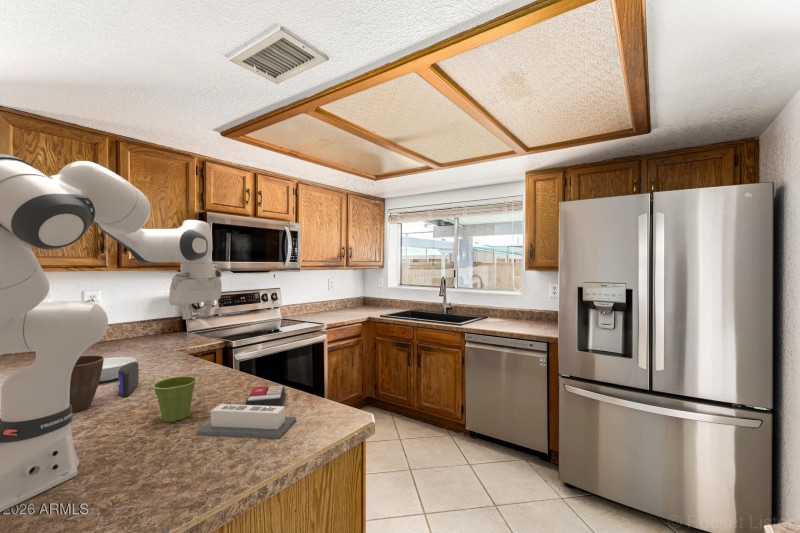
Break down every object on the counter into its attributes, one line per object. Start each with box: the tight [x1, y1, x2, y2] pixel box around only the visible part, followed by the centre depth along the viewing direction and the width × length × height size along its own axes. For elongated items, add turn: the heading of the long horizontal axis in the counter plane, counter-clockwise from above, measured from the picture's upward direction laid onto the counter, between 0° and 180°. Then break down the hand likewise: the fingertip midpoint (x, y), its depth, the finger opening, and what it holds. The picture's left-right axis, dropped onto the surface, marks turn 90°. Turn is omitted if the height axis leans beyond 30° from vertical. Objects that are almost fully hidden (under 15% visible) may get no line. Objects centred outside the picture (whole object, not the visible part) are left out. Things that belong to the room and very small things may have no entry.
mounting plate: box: [195, 405, 297, 440], centre depth 107 cm, size 12×24×6 cm, turn 84°
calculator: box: [245, 385, 286, 406], centre depth 127 cm, size 11×4×15 cm
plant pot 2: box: [151, 375, 198, 423], centre depth 114 cm, size 12×12×11 cm
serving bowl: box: [99, 356, 137, 383], centre depth 154 cm, size 21×21×7 cm
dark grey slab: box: [117, 361, 140, 398], centre depth 139 cm, size 16×5×9 cm, turn 24°
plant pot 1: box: [70, 355, 105, 414], centre depth 121 cm, size 15×15×16 cm
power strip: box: [210, 403, 286, 429], centre depth 107 cm, size 5×20×5 cm, turn 84°
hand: (197, 316), depth 115 cm, fingers open, 8 cm apart
